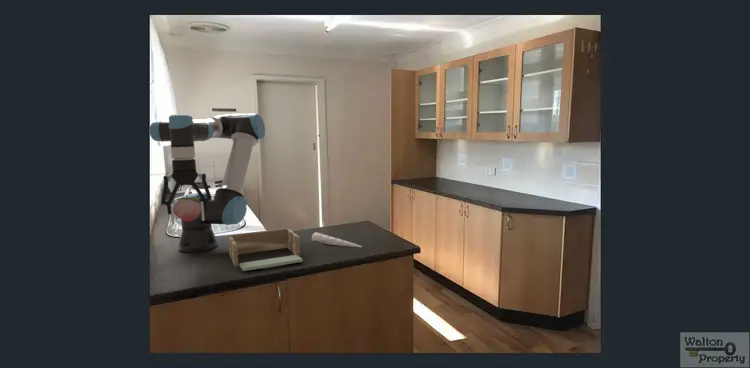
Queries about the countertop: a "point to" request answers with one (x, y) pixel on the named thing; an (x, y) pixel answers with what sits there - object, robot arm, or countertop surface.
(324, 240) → the unicorn horn
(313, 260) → the countertop surface
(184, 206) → the decorative fruit
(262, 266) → the pale green panel
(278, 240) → the box
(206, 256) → the countertop surface
